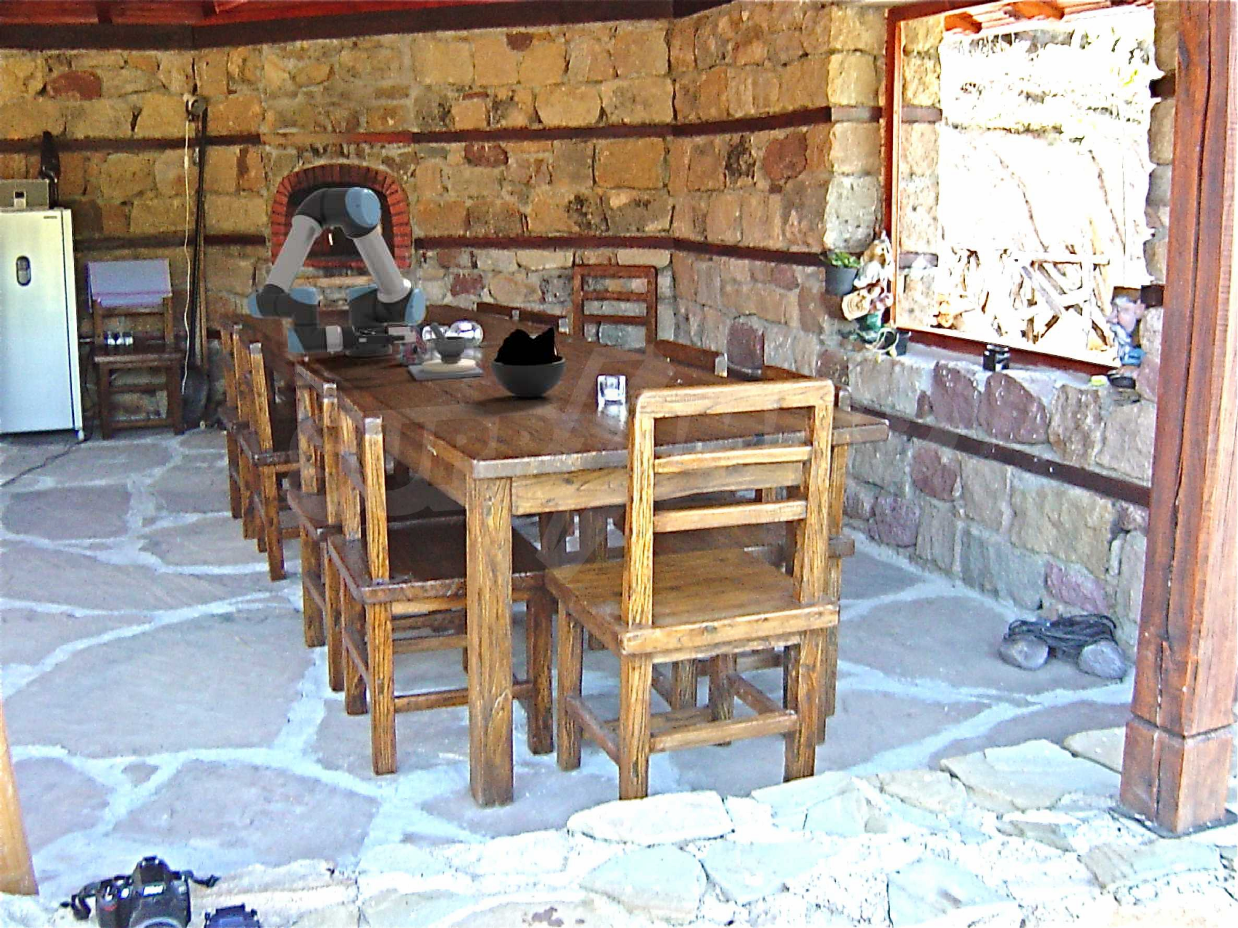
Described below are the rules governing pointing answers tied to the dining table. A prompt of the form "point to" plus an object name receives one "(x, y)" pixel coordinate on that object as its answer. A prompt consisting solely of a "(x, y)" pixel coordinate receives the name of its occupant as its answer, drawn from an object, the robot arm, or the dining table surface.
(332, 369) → the dining table surface
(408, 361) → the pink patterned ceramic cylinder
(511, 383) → the coal bowl
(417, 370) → the carrier board
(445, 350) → the mortar and pestle
